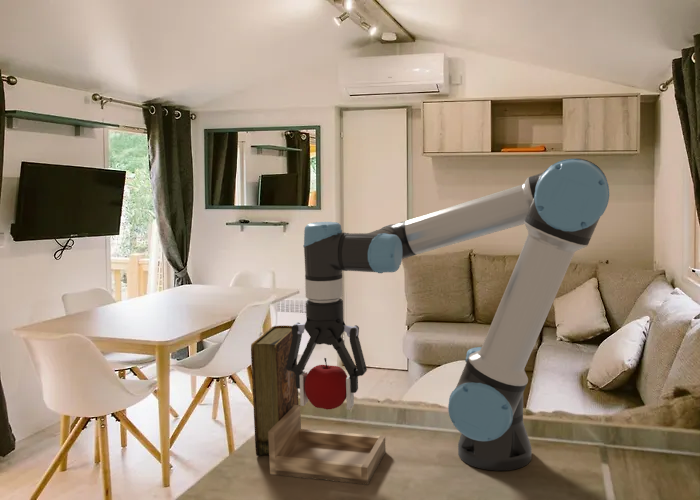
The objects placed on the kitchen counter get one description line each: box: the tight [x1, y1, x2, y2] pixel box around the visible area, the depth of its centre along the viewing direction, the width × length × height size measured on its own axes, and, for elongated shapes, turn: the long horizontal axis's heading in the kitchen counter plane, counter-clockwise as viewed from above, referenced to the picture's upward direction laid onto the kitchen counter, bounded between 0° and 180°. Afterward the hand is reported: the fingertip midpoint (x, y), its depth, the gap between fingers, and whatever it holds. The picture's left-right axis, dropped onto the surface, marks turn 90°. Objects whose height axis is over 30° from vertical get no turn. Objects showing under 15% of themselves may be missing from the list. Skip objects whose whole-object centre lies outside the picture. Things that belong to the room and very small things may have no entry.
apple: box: [305, 357, 348, 410], centre depth 143 cm, size 9×9×10 cm
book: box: [250, 325, 299, 457], centre depth 155 cm, size 16×6×25 cm, turn 169°
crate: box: [268, 404, 387, 486], centre depth 145 cm, size 20×15×9 cm
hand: (327, 405), depth 144 cm, fingers closed on apple, 9 cm apart
